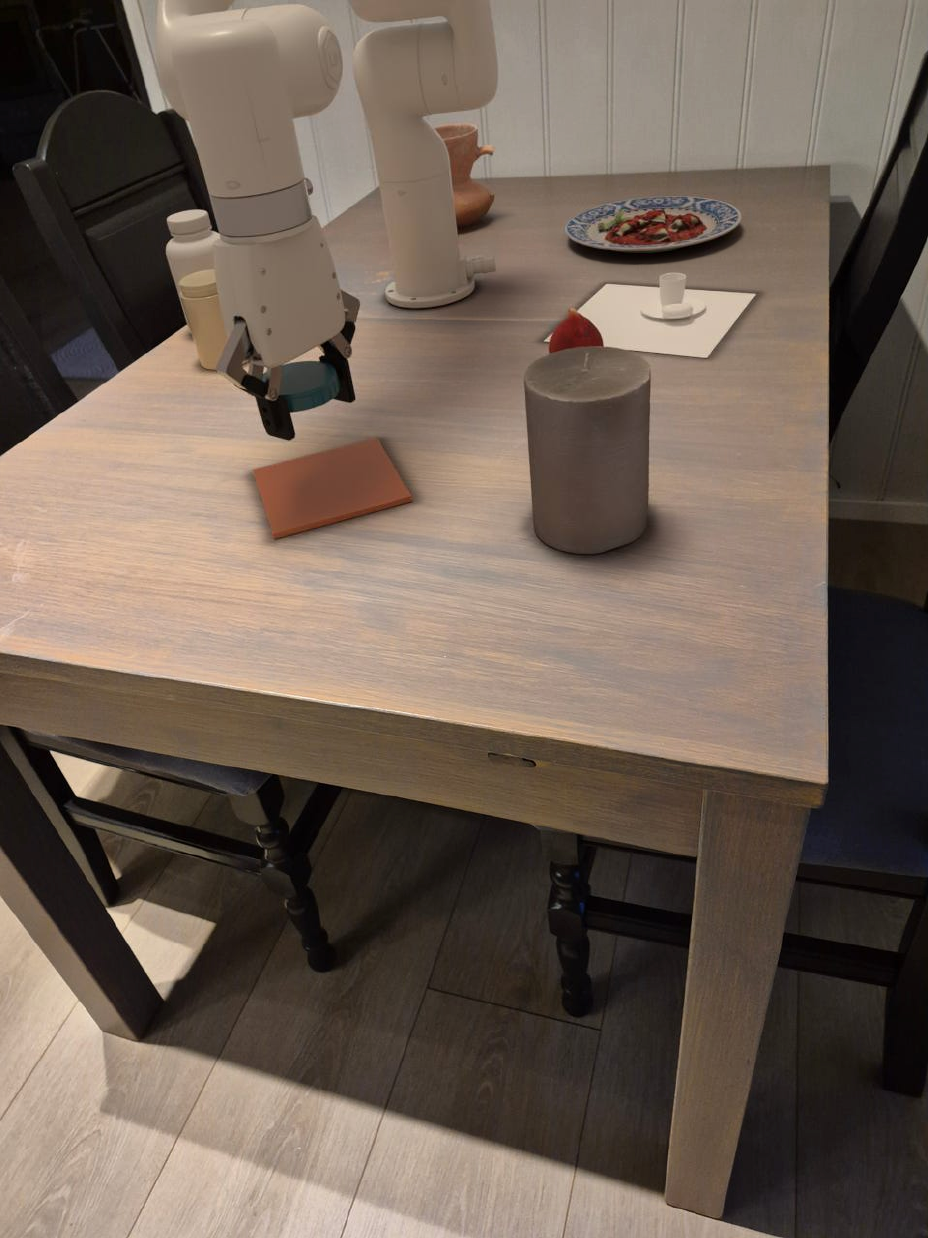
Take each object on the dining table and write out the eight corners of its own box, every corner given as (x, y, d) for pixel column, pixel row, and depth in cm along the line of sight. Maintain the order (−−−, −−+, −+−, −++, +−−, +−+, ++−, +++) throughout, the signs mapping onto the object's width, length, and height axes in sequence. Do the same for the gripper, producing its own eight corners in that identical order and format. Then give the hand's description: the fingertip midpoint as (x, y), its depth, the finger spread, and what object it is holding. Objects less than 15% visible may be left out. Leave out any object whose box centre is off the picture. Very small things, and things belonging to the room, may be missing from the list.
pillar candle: (553, 487, 81) (544, 326, 71) (660, 499, 77) (665, 331, 68) (517, 547, 74) (501, 378, 64) (632, 563, 70) (634, 387, 61)
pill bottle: (234, 338, 120) (201, 222, 110) (180, 340, 122) (143, 225, 112) (256, 316, 126) (226, 203, 116) (204, 318, 127) (171, 207, 118)
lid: (338, 372, 83) (335, 355, 82) (341, 405, 77) (337, 386, 76) (260, 385, 82) (256, 367, 81) (257, 419, 77) (252, 400, 76)
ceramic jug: (500, 206, 156) (492, 115, 147) (500, 230, 145) (492, 133, 136) (399, 218, 158) (385, 128, 149) (391, 242, 146) (376, 147, 137)
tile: (378, 442, 91) (376, 437, 91) (412, 501, 82) (411, 495, 81) (254, 474, 89) (252, 469, 89) (274, 539, 79) (272, 533, 79)
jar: (242, 343, 118) (220, 263, 111) (261, 358, 113) (239, 275, 107) (194, 359, 116) (168, 278, 109) (211, 374, 111) (185, 291, 104)
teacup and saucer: (691, 327, 105) (693, 293, 102) (627, 322, 109) (627, 288, 106) (713, 300, 111) (715, 267, 108) (652, 296, 114) (653, 264, 112)
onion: (608, 370, 99) (608, 298, 94) (597, 392, 95) (596, 319, 90) (557, 368, 100) (554, 298, 96) (544, 390, 96) (540, 318, 91)
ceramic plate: (778, 227, 130) (780, 206, 128) (648, 277, 120) (648, 254, 118) (654, 201, 147) (654, 182, 145) (531, 242, 138) (530, 222, 136)
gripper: (306, 179, 77) (346, 373, 88) (145, 240, 66) (213, 451, 77) (370, 183, 73) (404, 386, 84) (210, 248, 62) (272, 470, 73)
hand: (312, 416), depth 80 cm, fingers closed on lid, 7 cm apart
